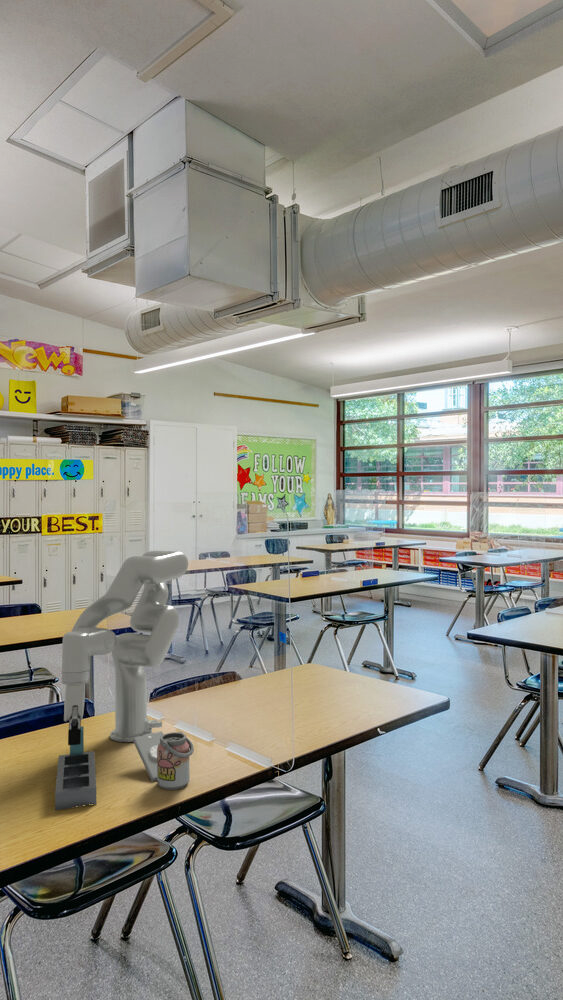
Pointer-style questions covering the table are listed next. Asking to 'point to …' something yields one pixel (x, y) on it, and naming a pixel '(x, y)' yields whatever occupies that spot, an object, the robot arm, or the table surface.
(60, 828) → the table surface
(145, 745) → the light switch
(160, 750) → the beverage can
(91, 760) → the hole rail
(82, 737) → the square peg
